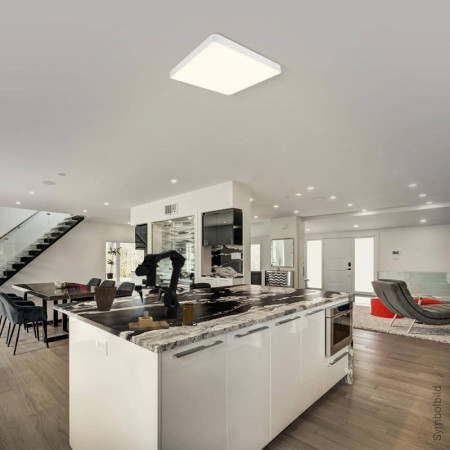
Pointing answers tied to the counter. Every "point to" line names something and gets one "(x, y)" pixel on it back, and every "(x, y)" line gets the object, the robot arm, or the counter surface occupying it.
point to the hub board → (155, 326)
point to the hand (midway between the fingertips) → (150, 302)
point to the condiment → (188, 314)
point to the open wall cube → (145, 321)
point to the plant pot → (104, 297)
